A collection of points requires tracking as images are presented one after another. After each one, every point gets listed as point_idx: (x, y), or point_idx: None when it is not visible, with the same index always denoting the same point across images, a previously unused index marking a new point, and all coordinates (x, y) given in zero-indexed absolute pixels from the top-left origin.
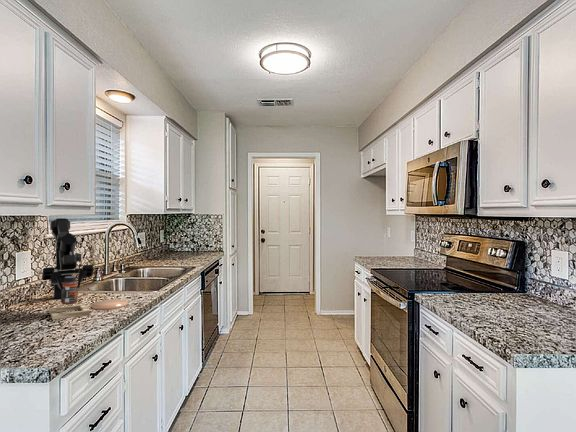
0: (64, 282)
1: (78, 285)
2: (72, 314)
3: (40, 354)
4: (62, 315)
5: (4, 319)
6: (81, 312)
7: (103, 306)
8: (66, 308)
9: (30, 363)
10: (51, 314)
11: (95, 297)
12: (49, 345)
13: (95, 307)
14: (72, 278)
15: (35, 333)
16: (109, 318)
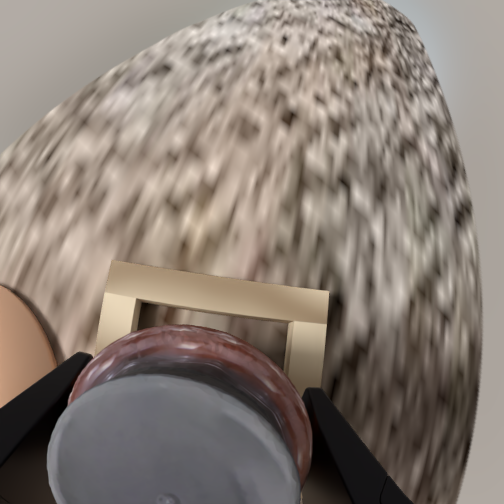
0: (289, 434)
1: (84, 363)
2: (214, 278)
3: (364, 13)
4: (273, 285)
5: (471, 442)
6: (161, 268)
7: (15, 336)
8: None
9: (376, 2)
10: (321, 361)
11: None
12: (350, 31)
13: (50, 362)
14: (140, 374)
15: (392, 134)
16: (96, 128)
